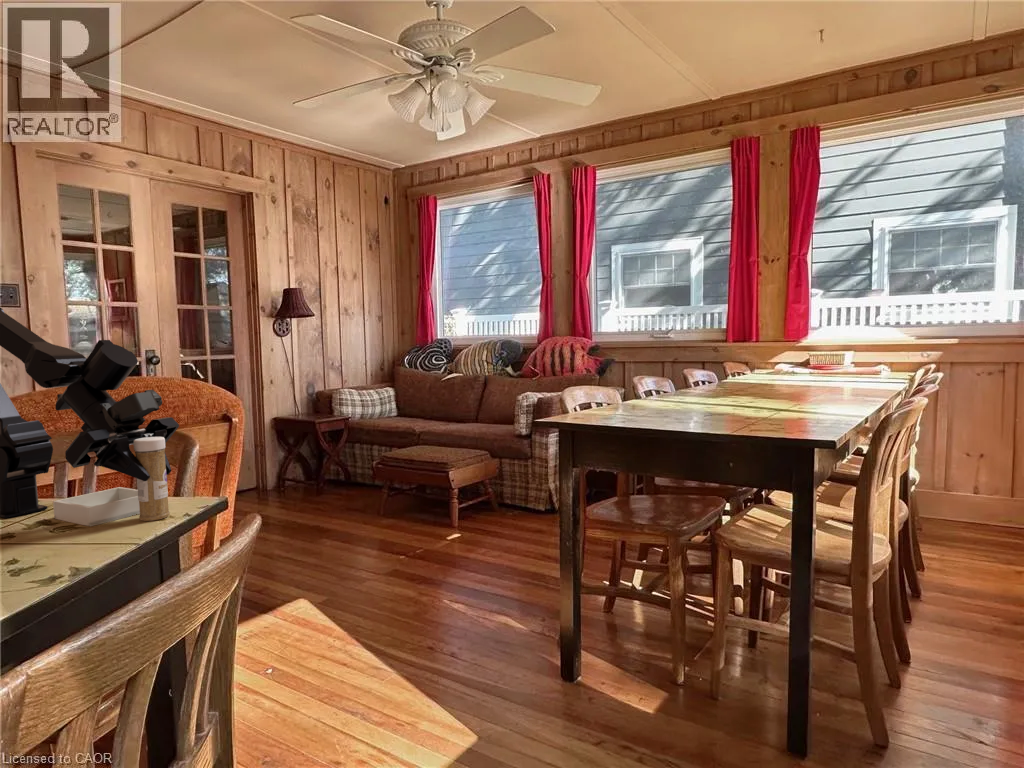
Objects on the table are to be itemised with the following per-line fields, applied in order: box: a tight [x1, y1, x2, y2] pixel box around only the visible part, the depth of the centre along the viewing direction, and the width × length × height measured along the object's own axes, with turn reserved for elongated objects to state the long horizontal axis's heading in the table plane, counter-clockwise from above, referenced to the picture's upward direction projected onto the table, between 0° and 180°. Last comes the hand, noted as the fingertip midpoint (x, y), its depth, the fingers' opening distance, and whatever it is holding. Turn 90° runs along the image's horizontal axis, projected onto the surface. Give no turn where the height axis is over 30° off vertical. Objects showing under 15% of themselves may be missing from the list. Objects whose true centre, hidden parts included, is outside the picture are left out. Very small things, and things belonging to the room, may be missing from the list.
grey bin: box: [52, 486, 140, 527], centre depth 109 cm, size 11×11×3 cm
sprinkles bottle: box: [133, 437, 171, 522], centre depth 106 cm, size 5×5×13 cm
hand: (158, 476), depth 105 cm, fingers closed on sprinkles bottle, 4 cm apart
